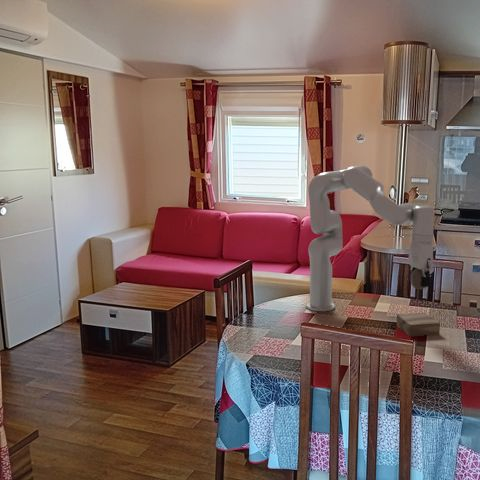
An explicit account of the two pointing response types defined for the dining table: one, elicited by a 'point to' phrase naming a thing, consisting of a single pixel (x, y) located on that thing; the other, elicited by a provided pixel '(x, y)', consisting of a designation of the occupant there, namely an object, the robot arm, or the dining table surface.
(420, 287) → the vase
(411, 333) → the walnut block
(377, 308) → the dining table surface
